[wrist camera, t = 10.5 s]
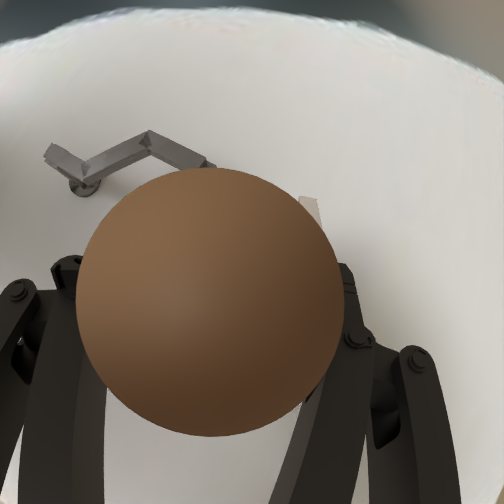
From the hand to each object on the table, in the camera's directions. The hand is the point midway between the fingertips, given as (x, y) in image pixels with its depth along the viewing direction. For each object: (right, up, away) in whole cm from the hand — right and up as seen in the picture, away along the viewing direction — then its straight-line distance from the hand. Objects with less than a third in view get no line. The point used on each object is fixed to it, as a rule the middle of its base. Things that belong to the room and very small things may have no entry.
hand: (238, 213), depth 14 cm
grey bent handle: (-9, +4, +12) cm, 15 cm away
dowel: (-1, -4, +3) cm, 5 cm away
